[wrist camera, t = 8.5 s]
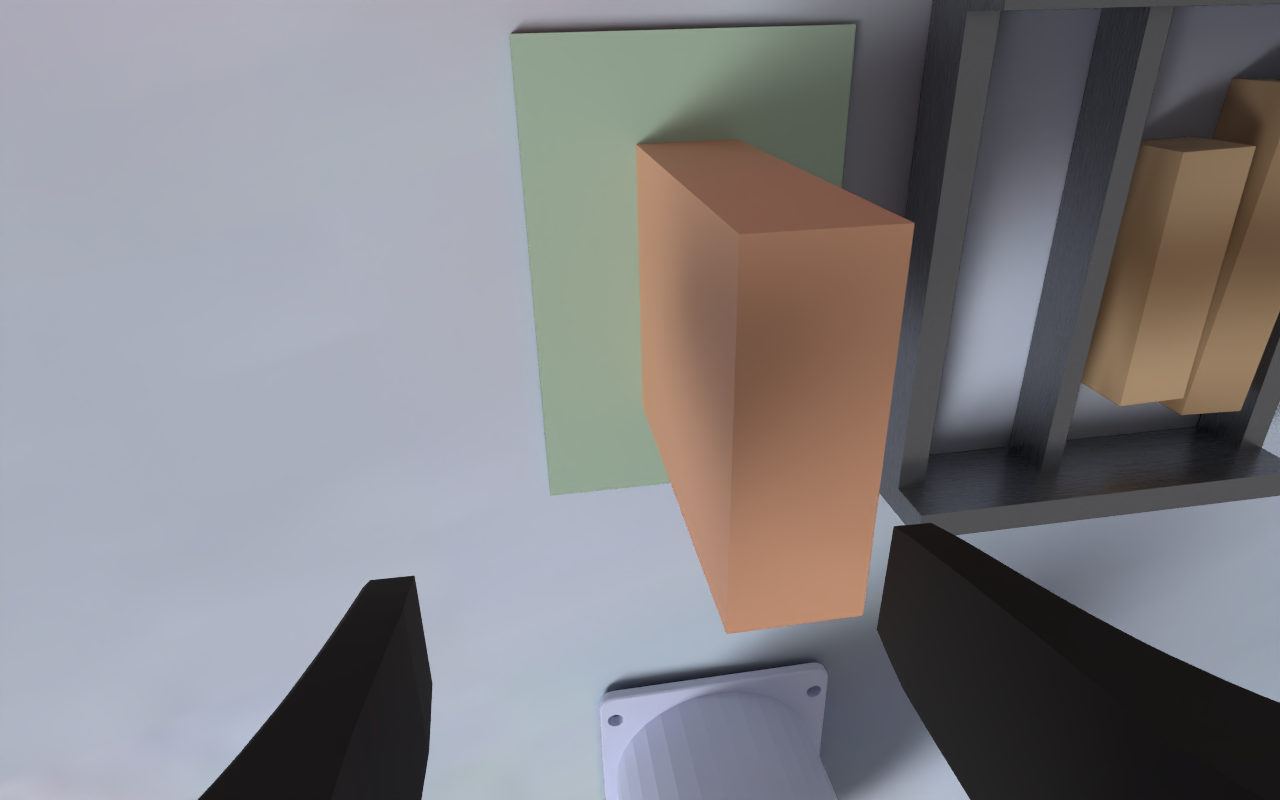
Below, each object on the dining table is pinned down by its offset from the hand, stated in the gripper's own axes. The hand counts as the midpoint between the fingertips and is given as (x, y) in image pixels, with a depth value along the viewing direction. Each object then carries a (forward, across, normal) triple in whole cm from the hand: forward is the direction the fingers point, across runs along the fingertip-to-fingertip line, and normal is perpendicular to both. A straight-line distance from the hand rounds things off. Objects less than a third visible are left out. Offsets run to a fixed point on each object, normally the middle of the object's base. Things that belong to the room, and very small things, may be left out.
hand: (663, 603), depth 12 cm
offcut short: (+11, -16, -2) cm, 19 cm away
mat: (+10, -2, -2) cm, 11 cm away
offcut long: (+11, -18, -2) cm, 21 cm away
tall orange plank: (+10, -2, -2) cm, 10 cm away
